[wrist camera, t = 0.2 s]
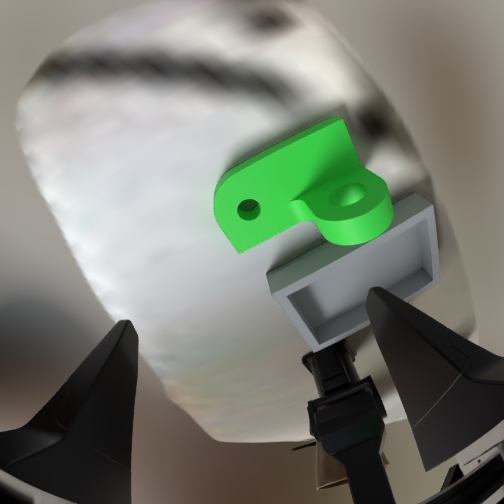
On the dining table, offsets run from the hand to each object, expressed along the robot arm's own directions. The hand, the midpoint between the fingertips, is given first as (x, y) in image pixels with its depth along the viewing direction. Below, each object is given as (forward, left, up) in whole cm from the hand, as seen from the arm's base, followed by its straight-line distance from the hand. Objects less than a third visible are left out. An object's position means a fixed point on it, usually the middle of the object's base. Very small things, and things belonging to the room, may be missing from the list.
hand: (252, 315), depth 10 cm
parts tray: (-15, -7, -14) cm, 21 cm away
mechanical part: (-2, -4, -14) cm, 15 cm away
